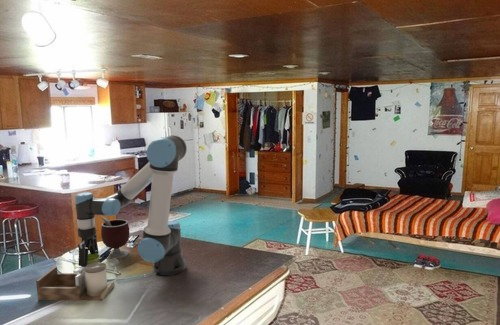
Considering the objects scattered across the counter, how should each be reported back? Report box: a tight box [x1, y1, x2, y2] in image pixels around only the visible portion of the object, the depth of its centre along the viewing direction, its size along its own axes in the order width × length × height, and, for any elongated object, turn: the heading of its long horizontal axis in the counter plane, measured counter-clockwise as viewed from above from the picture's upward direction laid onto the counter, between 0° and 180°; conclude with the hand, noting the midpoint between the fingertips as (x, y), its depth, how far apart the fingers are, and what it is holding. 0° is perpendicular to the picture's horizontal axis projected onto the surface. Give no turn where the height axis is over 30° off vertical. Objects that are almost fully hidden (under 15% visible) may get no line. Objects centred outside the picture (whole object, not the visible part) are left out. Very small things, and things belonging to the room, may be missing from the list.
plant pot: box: [77, 253, 101, 267], centre depth 183 cm, size 9×9×9 cm
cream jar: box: [85, 262, 108, 296], centre depth 164 cm, size 8×8×11 cm
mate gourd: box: [99, 215, 130, 259], centre depth 207 cm, size 16×14×20 cm
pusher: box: [72, 266, 87, 296], centre depth 164 cm, size 4×11×10 cm, turn 178°
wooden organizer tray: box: [35, 266, 116, 302], centre depth 165 cm, size 26×14×9 cm, turn 88°
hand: (90, 274), depth 183 cm, fingers closed on plant pot, 8 cm apart
